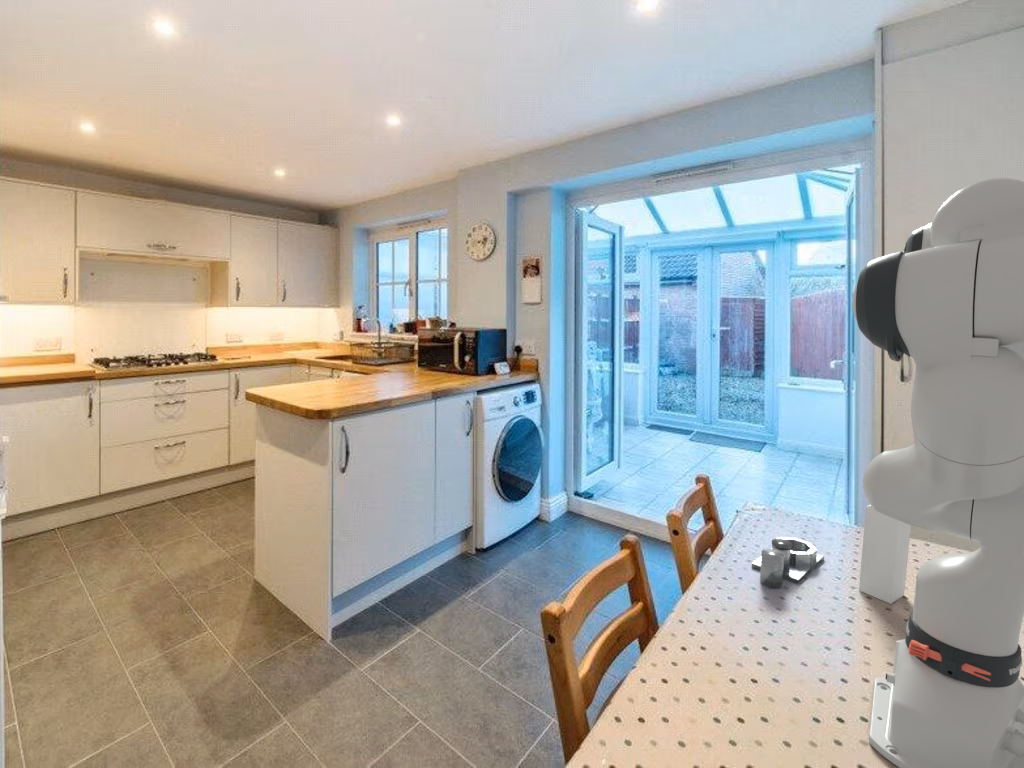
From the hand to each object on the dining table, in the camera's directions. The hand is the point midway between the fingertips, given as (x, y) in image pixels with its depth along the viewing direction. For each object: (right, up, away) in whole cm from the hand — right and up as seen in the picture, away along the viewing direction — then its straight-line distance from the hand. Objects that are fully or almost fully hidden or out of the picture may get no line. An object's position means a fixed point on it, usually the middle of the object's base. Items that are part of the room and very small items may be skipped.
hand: (986, 391), depth 88 cm
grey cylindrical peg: (-27, -43, +22) cm, 55 cm away
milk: (-6, -43, +17) cm, 47 cm away
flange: (-18, -41, +30) cm, 54 cm away
